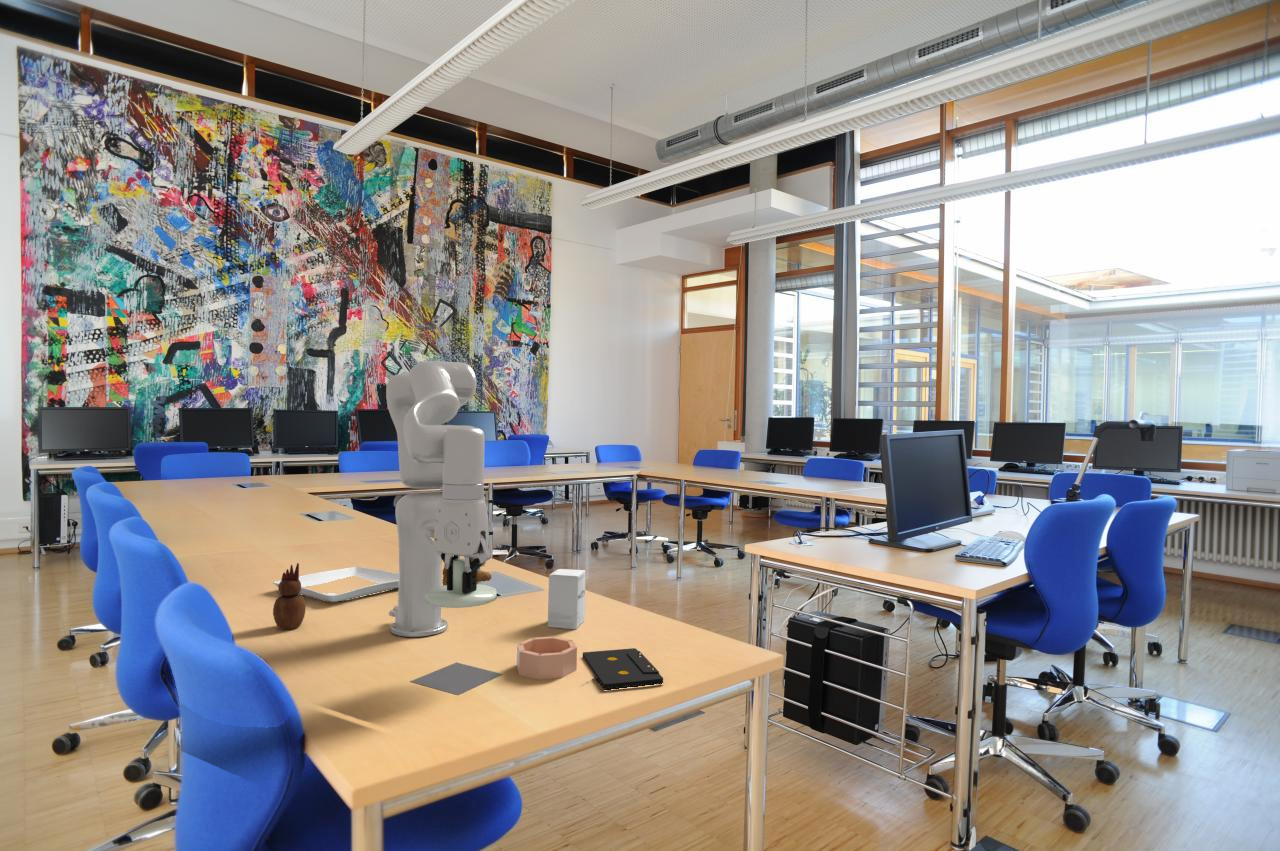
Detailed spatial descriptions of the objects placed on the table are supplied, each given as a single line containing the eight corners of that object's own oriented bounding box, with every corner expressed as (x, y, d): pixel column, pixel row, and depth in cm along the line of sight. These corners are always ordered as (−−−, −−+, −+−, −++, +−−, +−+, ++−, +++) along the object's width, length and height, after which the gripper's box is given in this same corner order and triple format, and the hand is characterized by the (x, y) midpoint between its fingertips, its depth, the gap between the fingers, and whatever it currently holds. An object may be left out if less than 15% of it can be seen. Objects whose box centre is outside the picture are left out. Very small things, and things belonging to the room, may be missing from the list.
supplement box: (577, 629, 166) (577, 576, 166) (546, 627, 168) (547, 574, 168) (585, 621, 174) (586, 569, 173) (556, 618, 175) (557, 567, 175)
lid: (409, 600, 131) (410, 561, 131) (460, 586, 142) (461, 550, 142) (462, 611, 124) (462, 570, 124) (510, 596, 135) (511, 558, 135)
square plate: (416, 589, 204) (416, 575, 204) (330, 610, 181) (330, 594, 181) (357, 576, 218) (357, 563, 218) (270, 594, 195) (270, 580, 195)
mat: (409, 684, 131) (409, 681, 131) (456, 665, 141) (456, 662, 141) (458, 698, 125) (458, 694, 125) (503, 677, 135) (503, 674, 135)
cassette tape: (663, 688, 133) (663, 677, 133) (604, 694, 129) (604, 682, 129) (635, 656, 150) (635, 646, 150) (582, 661, 146) (582, 651, 146)
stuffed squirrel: (483, 603, 189) (484, 553, 189) (432, 600, 190) (433, 551, 190) (495, 593, 199) (496, 547, 199) (446, 591, 200) (447, 545, 200)
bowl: (505, 674, 137) (506, 648, 137) (541, 657, 146) (541, 633, 146) (552, 685, 131) (552, 659, 131) (585, 668, 141) (586, 643, 141)
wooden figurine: (310, 626, 165) (311, 562, 165) (288, 633, 160) (289, 566, 160) (290, 622, 168) (290, 559, 168) (268, 628, 163) (269, 563, 163)
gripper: (416, 491, 134) (415, 588, 134) (482, 498, 125) (480, 601, 126) (446, 488, 140) (444, 581, 140) (510, 494, 132) (508, 592, 132)
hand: (461, 589), depth 133 cm, fingers closed on lid, 3 cm apart
